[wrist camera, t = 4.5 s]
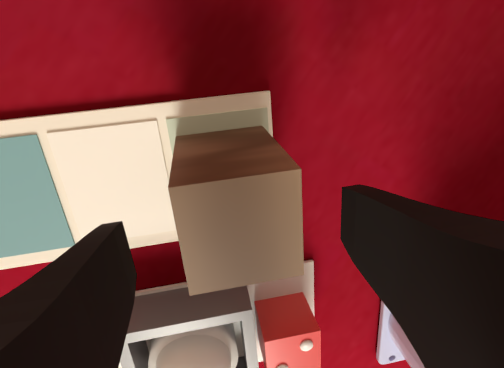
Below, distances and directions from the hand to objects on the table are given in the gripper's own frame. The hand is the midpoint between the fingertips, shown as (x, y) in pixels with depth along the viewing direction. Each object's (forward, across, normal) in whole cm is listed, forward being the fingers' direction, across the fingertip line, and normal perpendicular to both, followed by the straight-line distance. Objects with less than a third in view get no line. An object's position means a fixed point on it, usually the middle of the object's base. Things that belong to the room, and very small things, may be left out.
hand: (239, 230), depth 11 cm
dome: (+6, +3, +10) cm, 12 cm away
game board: (+6, +5, 0) cm, 8 cm away
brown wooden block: (+6, 0, 0) cm, 6 cm away
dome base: (+6, +3, +10) cm, 12 cm away
